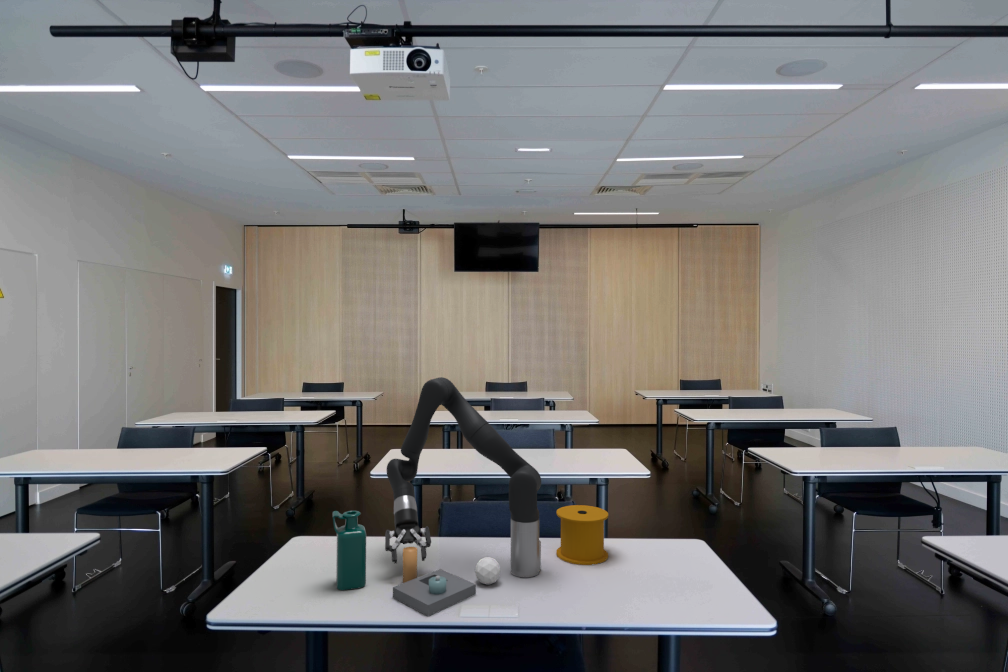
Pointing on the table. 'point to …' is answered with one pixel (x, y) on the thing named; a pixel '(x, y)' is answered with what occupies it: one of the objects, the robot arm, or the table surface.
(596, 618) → the table surface
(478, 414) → the robot arm
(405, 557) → the orange capsule
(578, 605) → the table surface
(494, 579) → the ball
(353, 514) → the pitcher
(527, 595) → the table surface
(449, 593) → the block
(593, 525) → the spool
